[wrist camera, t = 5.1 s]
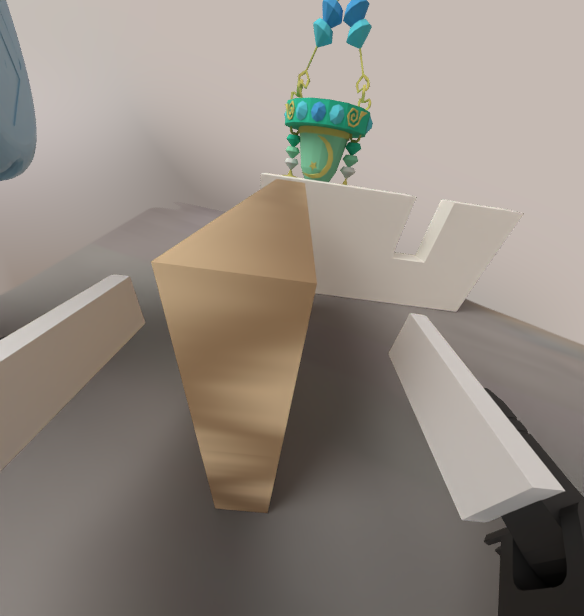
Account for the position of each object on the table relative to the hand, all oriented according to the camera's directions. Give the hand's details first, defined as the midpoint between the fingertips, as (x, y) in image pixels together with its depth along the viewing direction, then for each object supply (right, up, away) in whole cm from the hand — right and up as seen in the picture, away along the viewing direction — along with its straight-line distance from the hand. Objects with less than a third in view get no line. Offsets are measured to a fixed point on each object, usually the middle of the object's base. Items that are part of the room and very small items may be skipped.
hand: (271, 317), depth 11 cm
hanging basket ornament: (+3, +8, +25) cm, 27 cm away
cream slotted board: (+10, +2, +18) cm, 20 cm away
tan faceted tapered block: (-1, -4, +7) cm, 8 cm away
